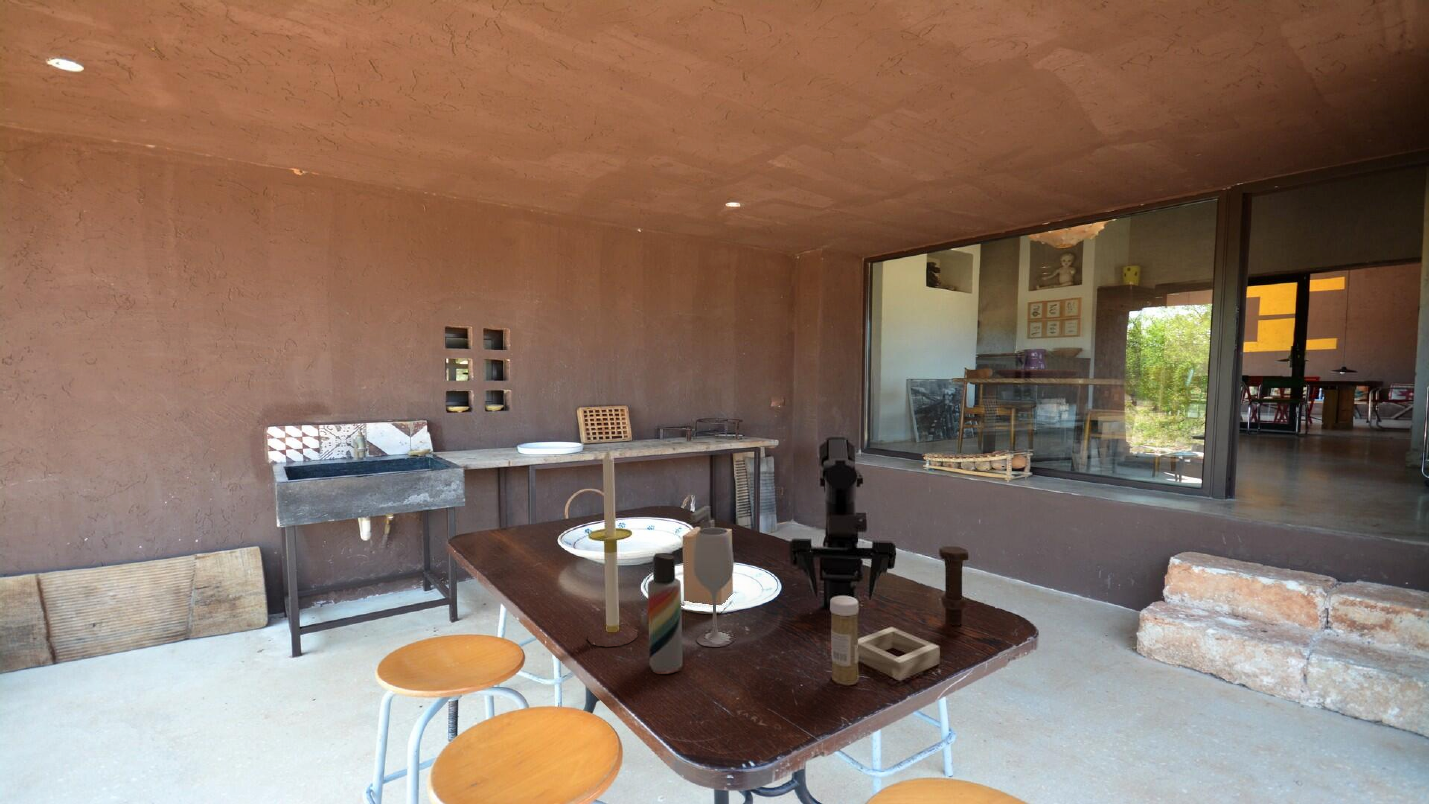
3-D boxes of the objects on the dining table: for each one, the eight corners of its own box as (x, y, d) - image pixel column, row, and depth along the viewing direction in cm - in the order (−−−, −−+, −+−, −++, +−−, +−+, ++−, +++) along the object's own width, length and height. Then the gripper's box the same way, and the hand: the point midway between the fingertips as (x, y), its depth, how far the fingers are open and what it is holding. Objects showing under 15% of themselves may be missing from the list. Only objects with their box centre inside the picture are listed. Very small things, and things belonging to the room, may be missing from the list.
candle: (576, 637, 122) (571, 446, 120) (617, 622, 129) (612, 441, 128) (608, 652, 115) (602, 450, 114) (649, 635, 122) (644, 445, 121)
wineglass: (739, 634, 122) (737, 527, 121) (727, 650, 115) (725, 537, 114) (703, 629, 125) (701, 525, 124) (689, 645, 117) (687, 535, 117)
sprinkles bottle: (864, 680, 103) (864, 600, 102) (845, 689, 100) (844, 606, 100) (844, 670, 107) (843, 592, 106) (825, 678, 104) (824, 598, 103)
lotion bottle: (650, 661, 111) (647, 550, 110) (682, 659, 112) (679, 548, 111) (649, 676, 106) (646, 559, 105) (683, 674, 106) (680, 558, 105)
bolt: (970, 630, 122) (969, 554, 121) (942, 628, 123) (942, 553, 122) (964, 618, 128) (964, 546, 127) (938, 617, 129) (938, 545, 128)
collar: (899, 680, 102) (899, 663, 102) (852, 657, 111) (852, 641, 111) (939, 663, 108) (939, 646, 108) (891, 642, 117) (891, 626, 117)
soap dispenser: (697, 596, 143) (695, 501, 143) (733, 600, 141) (731, 503, 140) (676, 617, 131) (673, 513, 131) (714, 621, 129) (712, 515, 128)
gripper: (789, 495, 114) (786, 573, 104) (894, 496, 111) (902, 577, 101) (791, 527, 123) (789, 603, 112) (890, 529, 119) (897, 607, 109)
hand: (843, 597), depth 108 cm, fingers open, 9 cm apart
